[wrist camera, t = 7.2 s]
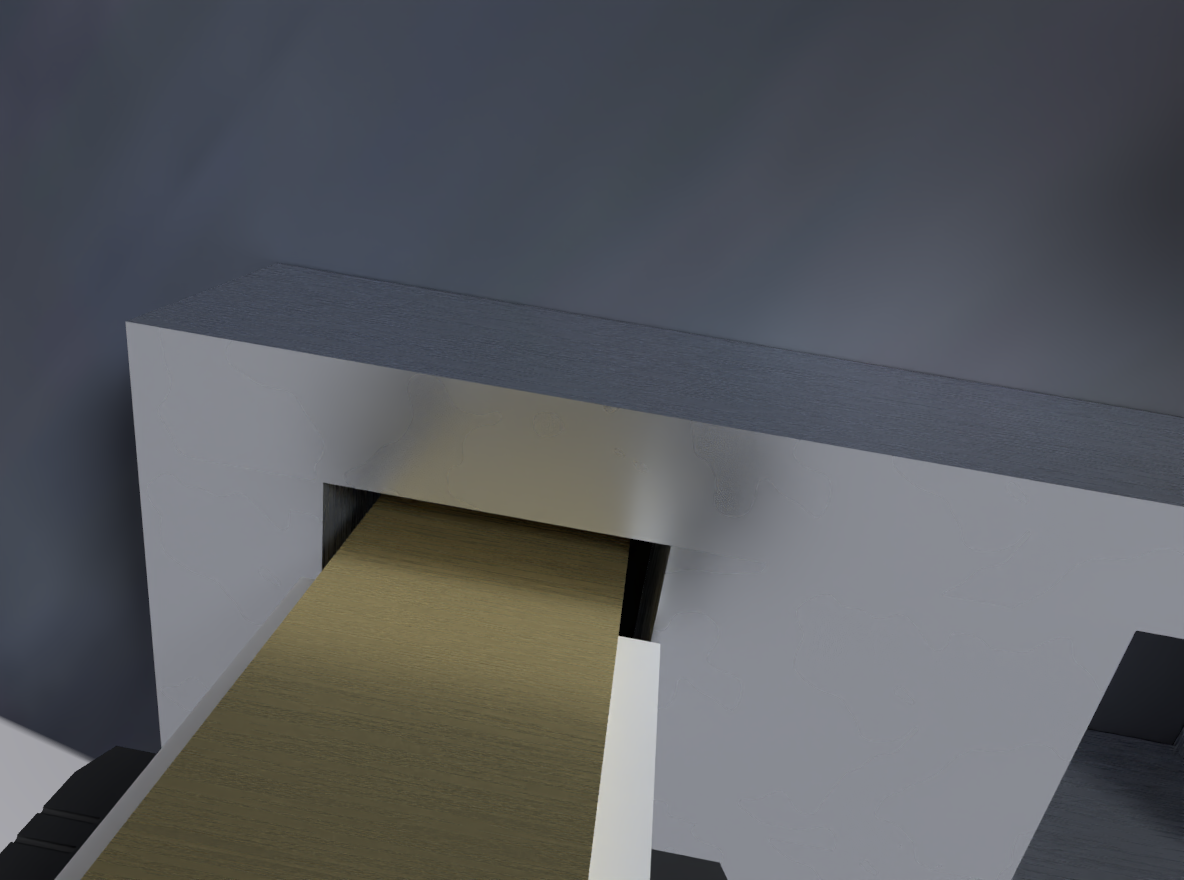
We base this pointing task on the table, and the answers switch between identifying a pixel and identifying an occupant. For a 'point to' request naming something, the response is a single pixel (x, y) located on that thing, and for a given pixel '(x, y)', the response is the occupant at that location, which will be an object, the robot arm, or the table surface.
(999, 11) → the table surface
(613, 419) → the white peg board
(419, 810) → the gold square peg
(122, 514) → the table surface
